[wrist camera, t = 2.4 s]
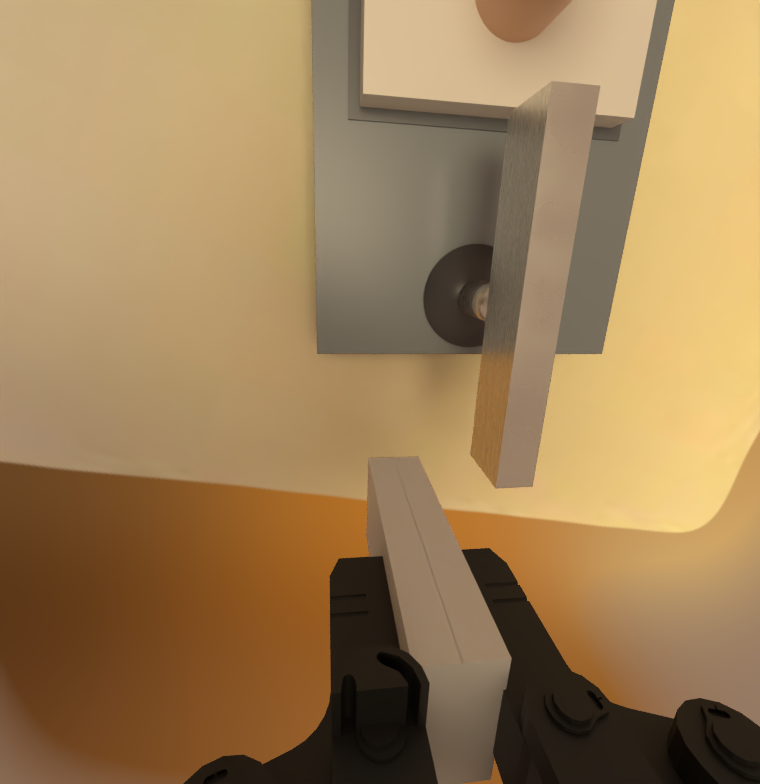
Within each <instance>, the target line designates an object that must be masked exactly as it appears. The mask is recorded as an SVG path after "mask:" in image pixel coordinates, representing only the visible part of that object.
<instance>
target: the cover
mask: <svg viewBox="0 0 760 784" xmlns="http://www.w3.org/2000/svg"><path fill="white" fill-rule="evenodd" d="M656 4H657V0H361V51H360V107H371V108H383V109H395V110H407V111H418V112H430V113H442V114H454V115H465V116H477V117H489V118H501V119H508V116H509V113H510V112H511V111H513V110H514V109H515V108H517V107H518V106H519V105H521V104H522V103H523V102H525V101H526V100H527V99H529V98H530V97H531V96H533V95H534V94H535V93H536V92H538V91H539V90H540V89H542V88H543V87H544V86H546V85H547V84H548V83H550V82H551V81H559V82H569V83H579V84H589V85H599V86H600V92H599V98H598V104H597V110H596V116H595V121H594V127H606V128H612V127H615V126H617V125H619V124H621V123H624V122H626V121H628V120H630V119H633V118H634V116H635V111H636V106H637V101H638V96H639V91H640V86H641V80H642V75H643V70H644V65H645V60H646V55H647V50H648V45H649V40H650V34H651V29H652V24H653V19H654V14H655V9H656Z"/></svg>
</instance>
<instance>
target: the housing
mask: <svg viewBox="0 0 760 784" xmlns="http://www.w3.org/2000/svg"><path fill="white" fill-rule="evenodd" d="M674 2H675V0H657V4H656V9H655V14H654V19H653V24H652V29H651V34H650V40H649V45H648V50H647V55H646V60H645V65H644V70H643V75H642V80H641V86H640V91H639V96H638V101H637V106H636V111H635V116H634V118H633V119H630V120H628V121H626V122H624V123H621V124H619V125H617V126H615V127H612V128H606V127H593V133H592V139H591V145H590V151H589V157H588V163H587V169H586V174H585V180H584V186H583V192H582V198H581V204H580V210H579V216H578V222H577V227H576V233H575V239H574V245H573V251H572V257H571V263H570V269H569V275H568V280H567V286H566V292H565V298H564V304H563V310H562V316H561V322H560V328H559V333H558V339H557V345H556V351H555V354H602V350H603V346H604V341H605V336H606V331H607V326H608V321H609V317H610V312H611V307H612V302H613V297H614V292H615V287H616V283H617V278H618V273H619V268H620V263H621V258H622V254H623V249H624V244H625V239H626V234H627V229H628V225H629V220H630V215H631V210H632V205H633V200H634V195H635V191H636V186H637V181H638V176H639V171H640V166H641V162H642V157H643V152H644V147H645V142H646V137H647V132H648V128H649V123H650V118H651V113H652V108H653V103H654V99H655V94H656V89H657V84H658V79H659V74H660V69H661V65H662V60H663V55H664V50H665V45H666V40H667V36H668V31H669V26H670V21H671V16H672V11H673V7H674ZM311 3H312V64H313V125H314V186H315V246H316V307H317V354H482V347H483V338H484V329H485V321H482V320H480V319H477V318H475V317H472V316H470V315H468V314H466V313H464V312H463V311H462V309H461V308H460V305H459V294H460V291H461V289H462V288H463V286H464V285H465V284H467V283H468V282H470V281H472V280H483V281H490V276H491V267H492V258H493V249H494V240H495V231H496V222H497V214H498V205H499V196H500V187H501V178H502V169H503V160H504V151H505V142H506V133H507V125H508V119H501V118H489V117H477V116H465V115H454V114H442V113H430V112H418V111H407V110H395V109H383V108H371V107H360V51H361V0H311Z"/></svg>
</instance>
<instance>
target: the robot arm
mask: <svg viewBox="0 0 760 784" xmlns="http://www.w3.org/2000/svg"><path fill="white" fill-rule="evenodd" d="M367 542H368V549H369V555H370V557H360V558H359V557H358V558H342V559H339V560H338V562H337V563H336V565H335V567H334V569H333V571H332V573H331V575H330V641H331V642H330V643H331V644H330V649H331V695H330V702H329V706H328V708H327V711H326V714H325V716H324V718H323V720H322V721H321V723H320V724H319V726H318V728H317V729H316V730H315V731H314V732H313V733H312V734H311V735H310V736H309V737H308V738H307V739H306V740H305V741H304V742H303V743H301V744H300V745H298V746H296V747H295V748H293V749H292V750H290V751H288V752H286V753H284V754H282V755H280V756H278V757H276V758H274V759H272V760H271V761H269V762H267V763H265V764H263V765H262V764H261V762H259V761H257V760H254V759H252V758H250V757H247V756H245V755H234V756H223V757H221V758H219V759H217V760H215V761H212V762H210V763H208V764H206V765H204V766H202V767H201V768H200V769H199V770H198V771H197V772H196V773H194V774H193V775H192V776H191V777H190V778H189V779H188V780H187V781H186V782H185V783H184V784H460V783H467V782H474V781H482V780H489V779H491V773H492V768H493V762H494V758H495V761H496V764H497V767H498V770H499V772H500V776H501V779H502V782H503V784H760V727H759V726H758V725H757V724H755V723H754V722H753V721H751V720H750V719H749V718H747V717H746V716H744V715H743V714H742V713H740V712H738V711H736V710H734V709H732V708H730V707H728V706H725V705H723V704H721V703H719V702H715V701H711V700H706V699H702V698H698V699H692V700H687V701H685V702H684V703H683V704H682V705H681V706H680V707H679V709H678V710H677V712H676V716H675V718H674V719H672V718H668V717H664V716H659V715H655V714H651V713H647V712H642V711H638V710H634V709H629V708H626V707H623V706H619V705H617V704H614V703H612V702H610V701H609V700H608V699H607V698H606V697H605V695H604V694H603V693H602V692H601V691H600V689H599V688H598V687H596V686H595V685H594V684H592V683H591V682H590V681H588V680H587V679H585V678H584V677H583V676H581V675H579V674H576V673H574V672H572V671H571V670H570V668H569V667H568V666H567V664H566V663H565V661H564V660H563V658H562V656H561V654H560V653H559V651H558V649H557V648H556V646H555V644H554V643H553V641H552V639H551V637H550V636H549V634H548V632H547V631H546V629H545V627H544V626H543V624H542V622H541V620H540V619H539V617H538V615H537V614H536V612H535V610H534V609H533V607H532V605H531V604H530V602H529V601H527V597H526V595H525V593H524V592H523V590H522V588H521V587H520V585H518V583H517V580H516V578H515V577H514V575H513V573H512V571H511V570H510V568H509V567H508V565H507V563H506V562H505V561H503V560H502V559H501V558H500V557H498V555H496V554H495V553H494V552H493V551H492V550H491V549H489V548H485V549H469V550H461V548H460V546H459V544H458V542H457V540H456V537H455V535H454V533H453V531H452V529H451V527H450V524H449V522H448V520H447V518H446V516H445V514H444V512H443V509H442V507H441V505H440V503H439V501H438V499H437V496H436V494H435V492H434V490H433V488H432V486H431V483H430V481H429V479H428V477H427V475H426V473H425V470H424V468H423V466H422V464H421V462H420V460H419V458H418V456H417V457H383V458H368V496H367Z"/></svg>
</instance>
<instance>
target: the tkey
mask: <svg viewBox="0 0 760 784" xmlns="http://www.w3.org/2000/svg"><path fill="white" fill-rule="evenodd" d="M599 92H600V86H599V85H589V84H579V83H569V82H559V81H551V82H550V83H548V84H547V85H546V86H544V87H543V88H542V89H540V90H539V91H538V92H536V93H535V94H534V95H533V96H531V97H530V98H529V99H527V100H526V101H525V102H523V103H522V104H521V105H519V106H518V107H517V108H515V109H514V110H513V111H511V112H510V113H509V116H508V125H507V133H506V142H505V151H504V160H503V169H502V178H501V187H500V196H499V205H498V214H497V222H496V231H495V240H494V249H493V258H492V267H491V276H490V281H483V280H472V281H470V282H468V283H467V284H465V285H464V286H463V288H462V289H461V291H460V294H459V305H460V308H461V309H462V311H463V312H464V313H466V314H468V315H470V316H472V317H475V318H477V319H480V320H482V321H485V329H484V338H483V347H482V356H481V365H480V374H479V383H478V392H477V400H476V409H475V418H474V427H473V436H472V445H471V454H470V455H471V456H472V458H473V459H474V460H475V461H476V463H477V464H478V465H479V467H480V468H481V469H482V471H483V472H484V473H485V475H486V476H487V477H488V479H489V480H490V481H491V483H492V484H493V485H494V487H495V488H515V487H533V481H534V475H535V469H536V463H537V457H538V451H539V445H540V439H541V434H542V428H543V422H544V416H545V410H546V404H547V398H548V392H549V386H550V381H551V375H552V369H553V363H554V357H555V351H556V345H557V339H558V333H559V328H560V322H561V316H562V310H563V304H564V298H565V292H566V286H567V280H568V275H569V269H570V263H571V257H572V251H573V245H574V239H575V233H576V227H577V222H578V216H579V210H580V204H581V198H582V192H583V186H584V180H585V174H586V169H587V163H588V157H589V151H590V145H591V139H592V133H593V127H594V121H595V116H596V110H597V104H598V98H599Z"/></svg>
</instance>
